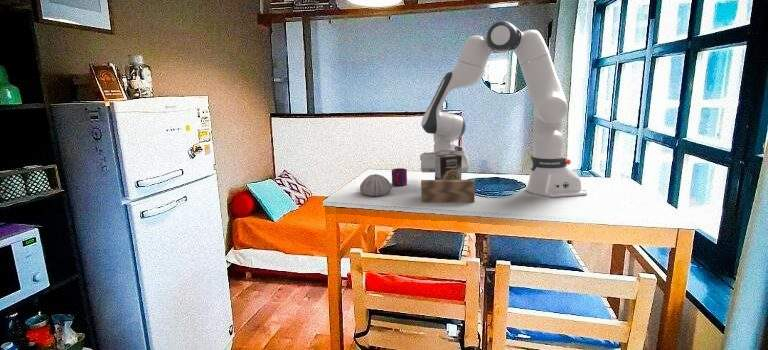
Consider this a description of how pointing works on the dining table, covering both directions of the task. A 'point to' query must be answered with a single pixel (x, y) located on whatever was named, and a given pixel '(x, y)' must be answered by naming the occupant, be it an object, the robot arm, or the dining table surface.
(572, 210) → the dining table surface
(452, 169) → the coffee box
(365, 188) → the sea urchin shell
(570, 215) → the dining table surface
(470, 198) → the brown rectangular block
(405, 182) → the mug
